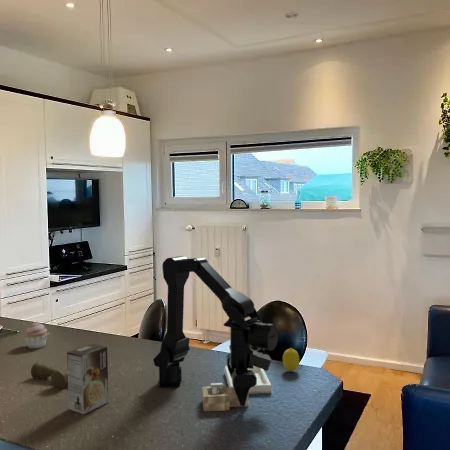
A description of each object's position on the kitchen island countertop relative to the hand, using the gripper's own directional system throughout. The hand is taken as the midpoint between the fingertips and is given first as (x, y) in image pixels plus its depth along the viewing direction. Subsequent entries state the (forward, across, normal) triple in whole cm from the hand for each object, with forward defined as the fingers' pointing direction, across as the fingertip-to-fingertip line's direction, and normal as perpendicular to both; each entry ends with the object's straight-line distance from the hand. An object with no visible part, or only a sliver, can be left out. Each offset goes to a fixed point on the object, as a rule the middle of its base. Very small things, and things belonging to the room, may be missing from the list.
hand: (240, 398), depth 132 cm
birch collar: (+2, 0, +4) cm, 5 cm away
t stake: (+2, 0, +7) cm, 7 cm away
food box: (+2, +3, +42) cm, 42 cm away
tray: (+2, +15, -4) cm, 16 cm away
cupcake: (+2, +59, +72) cm, 93 cm away
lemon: (+2, +23, -20) cm, 31 cm away
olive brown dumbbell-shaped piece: (+2, +22, +54) cm, 59 cm away
